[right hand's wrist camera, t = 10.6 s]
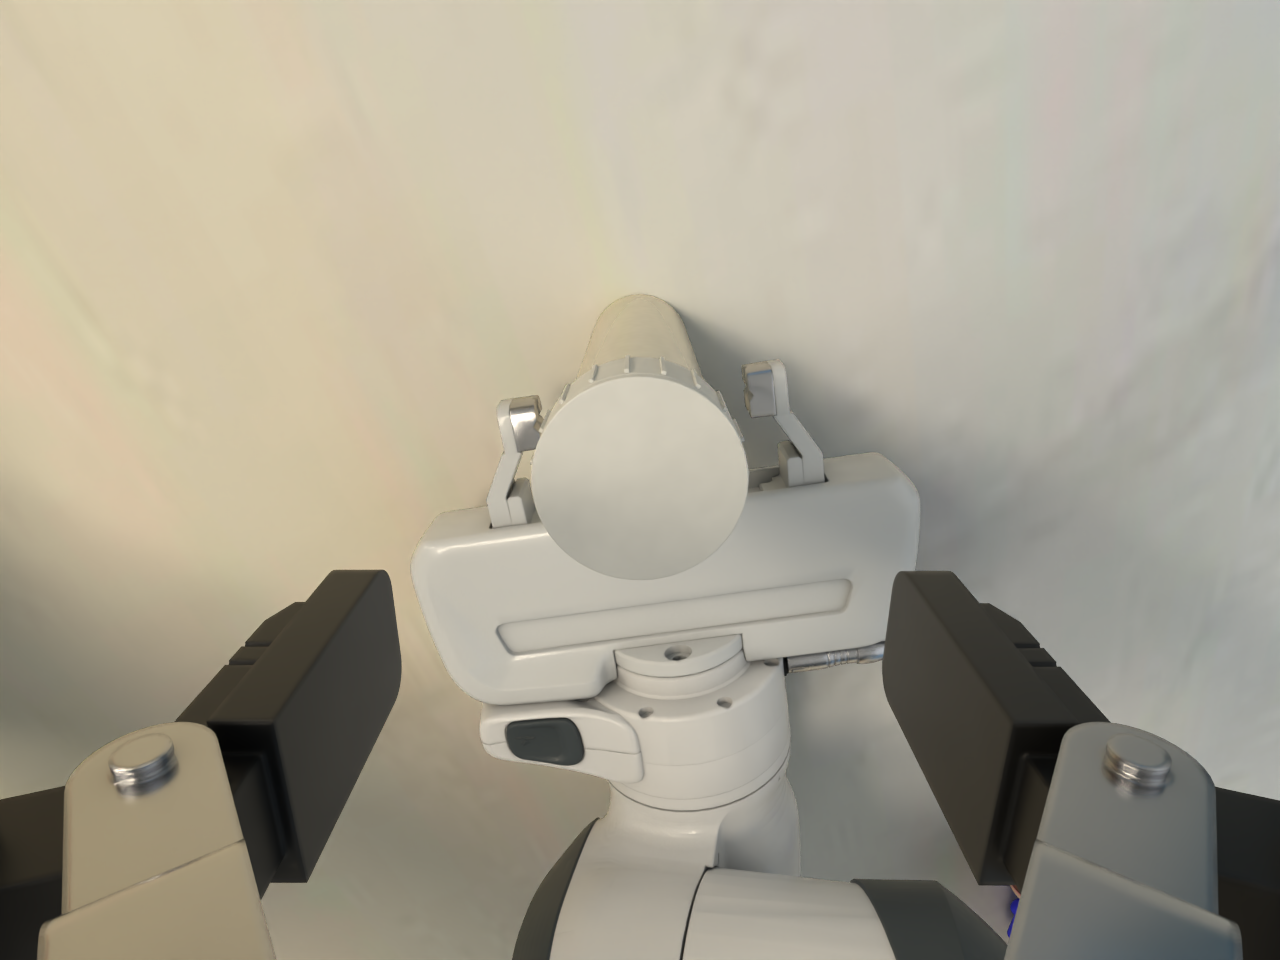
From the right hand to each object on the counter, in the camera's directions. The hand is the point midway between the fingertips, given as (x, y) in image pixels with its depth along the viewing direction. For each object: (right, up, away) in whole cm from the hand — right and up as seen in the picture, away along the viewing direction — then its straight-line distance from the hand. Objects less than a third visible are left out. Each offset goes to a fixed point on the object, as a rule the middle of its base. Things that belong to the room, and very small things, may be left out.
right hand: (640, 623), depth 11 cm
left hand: (0, +6, +17) cm, 18 cm away
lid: (0, +2, +6) cm, 6 cm away
